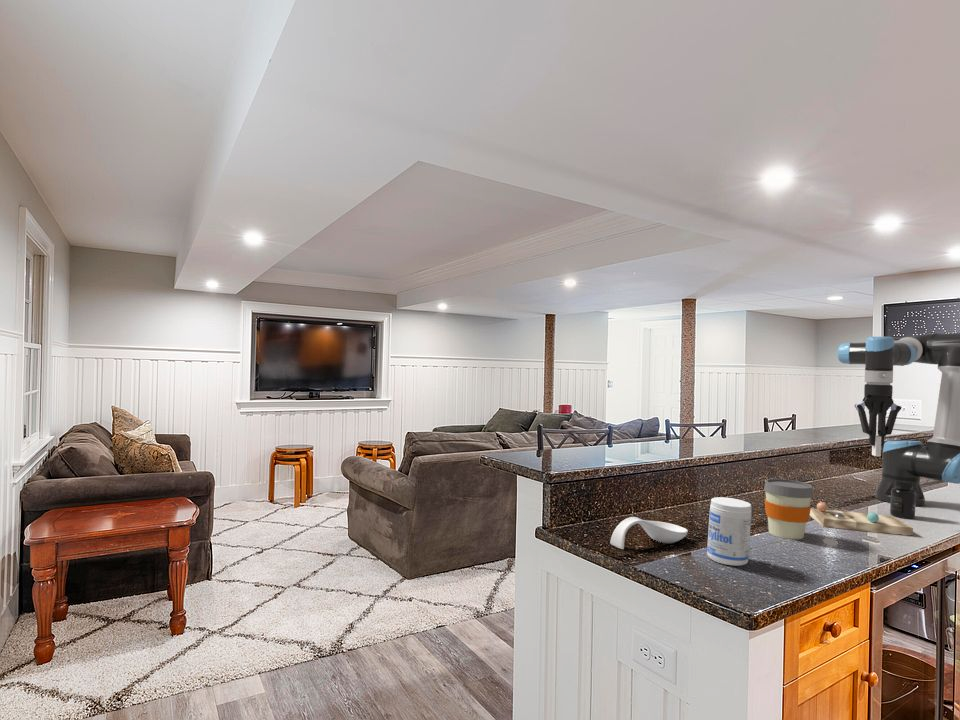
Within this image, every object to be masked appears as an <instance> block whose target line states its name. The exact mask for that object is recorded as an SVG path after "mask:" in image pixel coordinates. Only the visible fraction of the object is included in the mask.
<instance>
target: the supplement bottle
mask: <svg viewBox="0 0 960 720" xmlns="http://www.w3.org/2000/svg"><path fill="white" fill-rule="evenodd" d="M895 486H896V487H895V488H893V489H892V490H891V503H890V505H889V507H890V508H889V513H890V516H893V517H895V518H900V519H906V520H913V519H915V517H916V507H917V506H916V493H915V491H913V490H912V488H913V482H910V481H904V480H895Z"/></svg>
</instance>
